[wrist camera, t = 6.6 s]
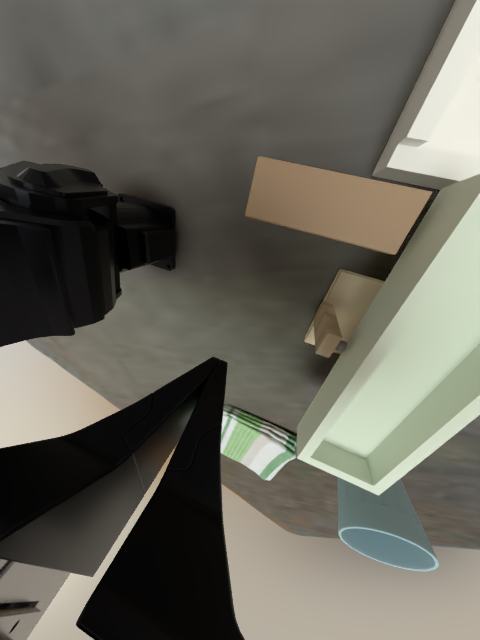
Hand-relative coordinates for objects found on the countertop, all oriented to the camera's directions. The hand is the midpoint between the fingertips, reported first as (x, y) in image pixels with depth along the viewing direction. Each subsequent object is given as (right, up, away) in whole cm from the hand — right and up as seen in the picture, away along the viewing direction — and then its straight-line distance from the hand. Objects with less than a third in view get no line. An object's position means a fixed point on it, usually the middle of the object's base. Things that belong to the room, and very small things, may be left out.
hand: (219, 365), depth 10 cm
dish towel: (-1, -19, +27) cm, 33 cm away
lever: (+8, +1, +4) cm, 9 cm away
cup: (+18, -14, +16) cm, 28 cm away
